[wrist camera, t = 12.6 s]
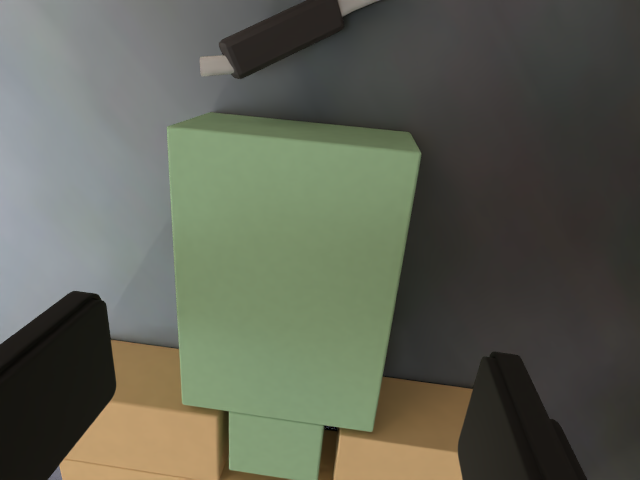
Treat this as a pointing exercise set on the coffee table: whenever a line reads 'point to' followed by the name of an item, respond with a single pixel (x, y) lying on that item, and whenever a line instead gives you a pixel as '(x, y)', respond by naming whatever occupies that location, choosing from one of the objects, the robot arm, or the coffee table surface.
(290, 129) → the green pad
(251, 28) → the clip-on lamp
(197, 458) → the sand pad
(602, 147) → the coffee table surface
